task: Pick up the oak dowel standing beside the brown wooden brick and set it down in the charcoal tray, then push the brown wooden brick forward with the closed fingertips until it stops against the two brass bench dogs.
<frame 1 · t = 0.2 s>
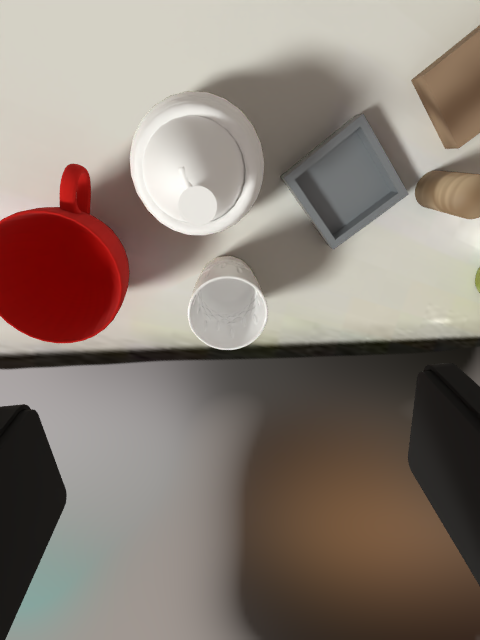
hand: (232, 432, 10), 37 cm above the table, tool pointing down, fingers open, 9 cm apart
white cup: (226, 282, 47), on the table
ceramic cup: (89, 238, 44), on the table
tray: (340, 184, 42), on the table
brown wooden brick: (470, 82, 39), on the table
dowel: (432, 189, 43), on the table
honey pot: (200, 166, 41), on the table
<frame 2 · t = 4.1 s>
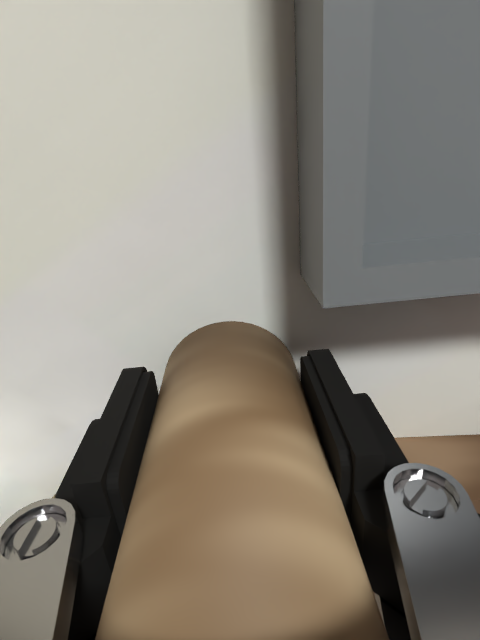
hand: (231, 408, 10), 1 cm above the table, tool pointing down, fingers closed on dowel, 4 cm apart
brown wooden brick: (424, 527, 15), on the table
dowel: (230, 381, 12), on the table, touching gripper
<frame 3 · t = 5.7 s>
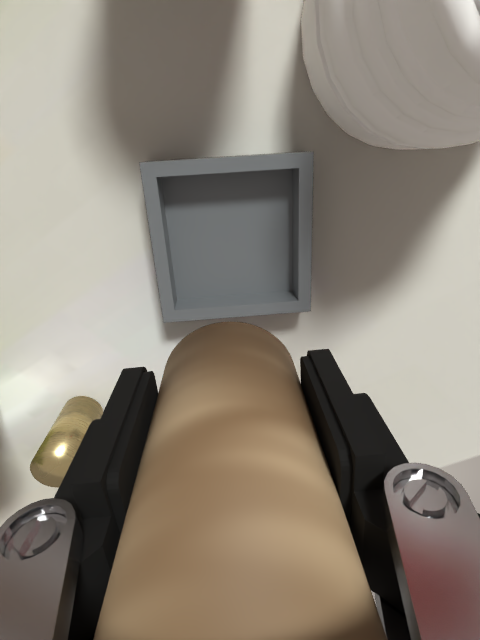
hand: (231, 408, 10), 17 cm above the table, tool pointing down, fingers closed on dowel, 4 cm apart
tray: (231, 235, 25), on the table
dowel: (230, 381, 12), point 15 cm above the table, touching gripper
honey pot: (413, 23, 21), on the table
bench dogs: (91, 442, 31), on the table
when the fingers open (3 cm above the table, at t = 7.8 s): dowel stays where it is, resting on tray.
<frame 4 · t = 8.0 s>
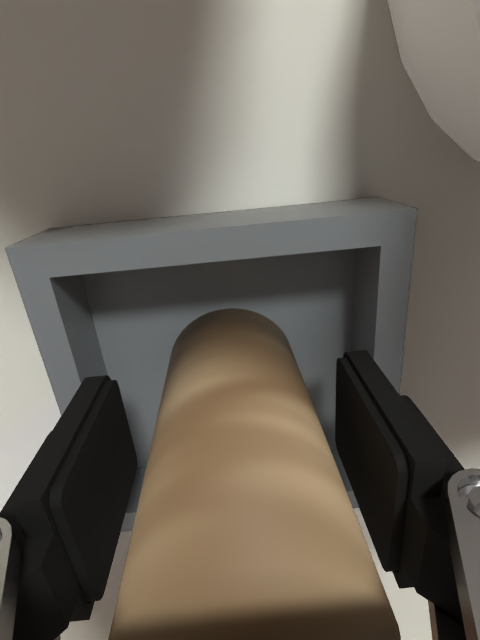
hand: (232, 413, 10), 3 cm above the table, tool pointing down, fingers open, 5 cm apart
tray: (229, 356, 13), on the table
dowel: (231, 364, 13), point 1 cm above the table, touching tray
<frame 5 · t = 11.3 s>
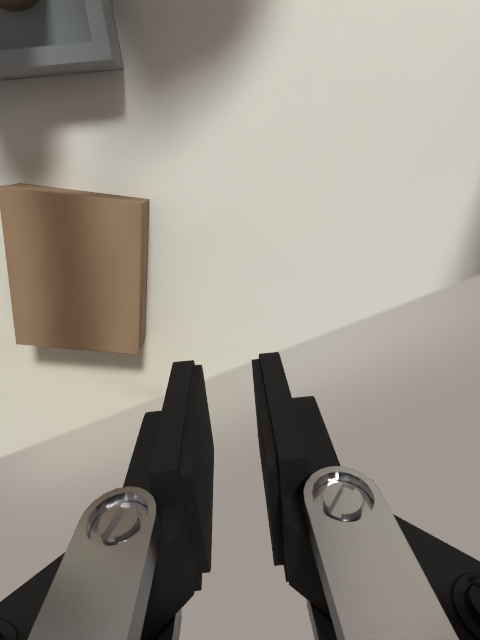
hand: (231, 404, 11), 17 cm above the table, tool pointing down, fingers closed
brown wooden brick: (89, 265, 27), on the table
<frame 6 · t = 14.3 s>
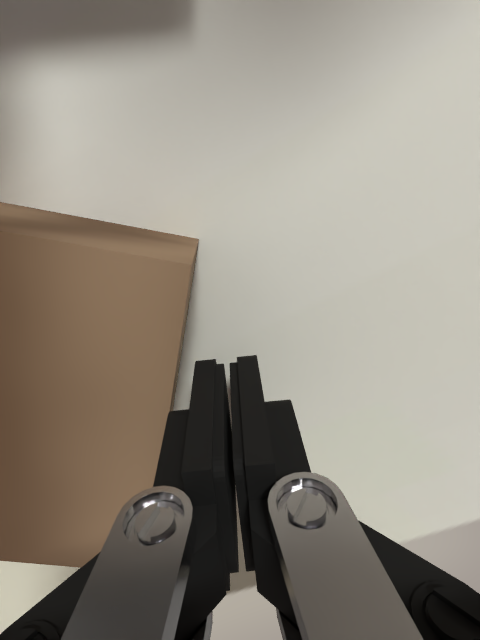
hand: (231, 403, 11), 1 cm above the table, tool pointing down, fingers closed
brown wooden brick: (51, 366, 12), on the table
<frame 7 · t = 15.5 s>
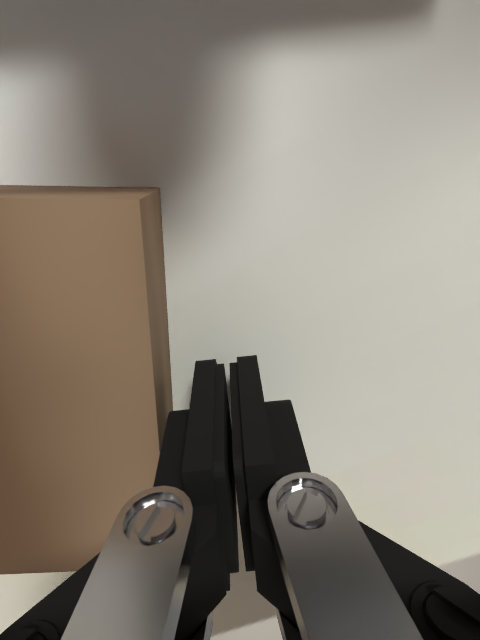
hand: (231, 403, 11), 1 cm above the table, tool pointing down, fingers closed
brown wooden brick: (35, 362, 11), on the table, touching gripper
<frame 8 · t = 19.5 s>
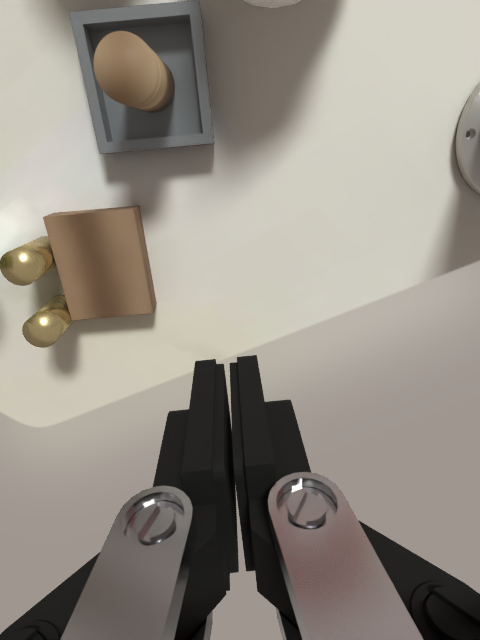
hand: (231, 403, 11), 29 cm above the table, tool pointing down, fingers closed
tray: (151, 86, 32), on the table
brown wooden brick: (109, 259, 39), on the table
dowel: (150, 85, 32), point 1 cm above the table, touching tray
bench dogs: (56, 280, 39), on the table
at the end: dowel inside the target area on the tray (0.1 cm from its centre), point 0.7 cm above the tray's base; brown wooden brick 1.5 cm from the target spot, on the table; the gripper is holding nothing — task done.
